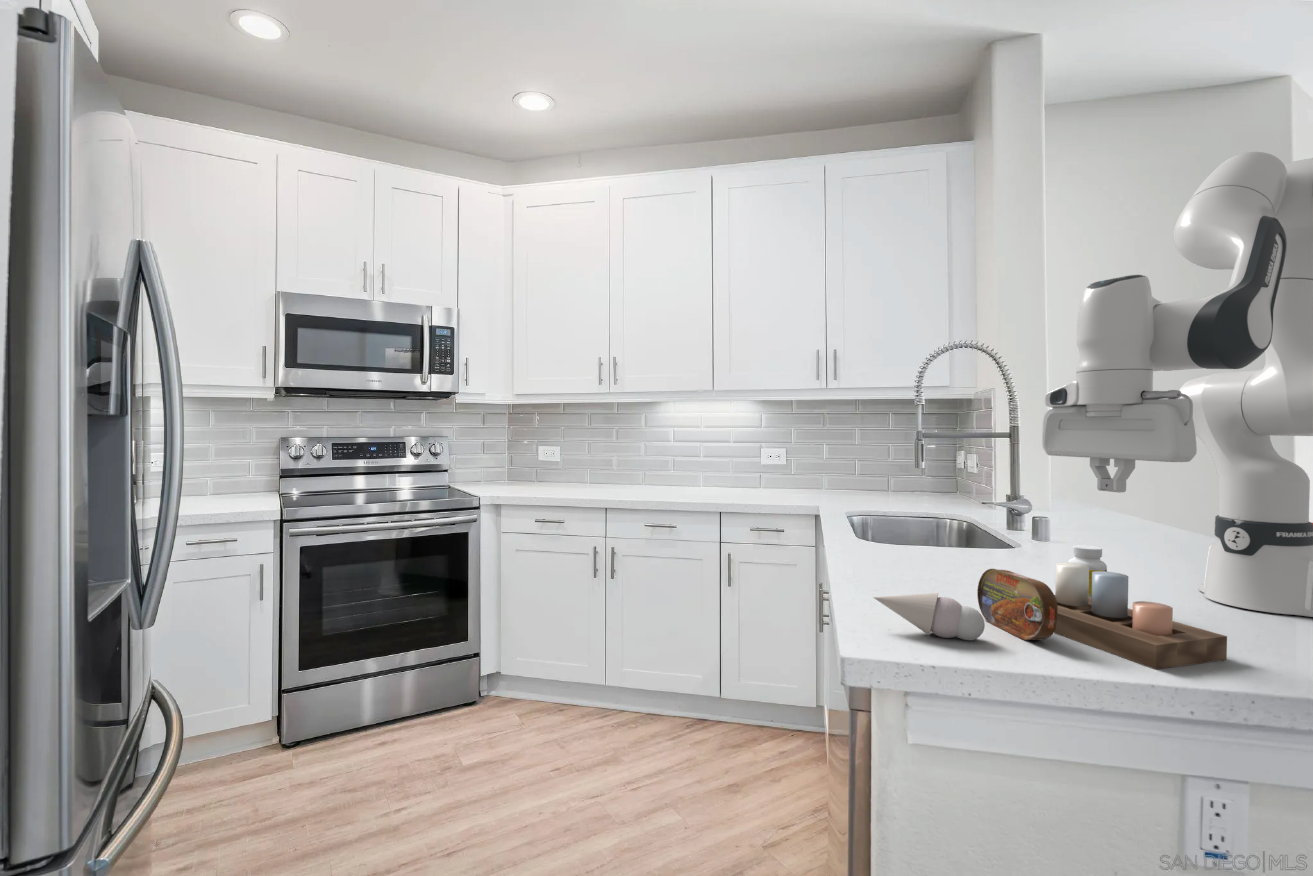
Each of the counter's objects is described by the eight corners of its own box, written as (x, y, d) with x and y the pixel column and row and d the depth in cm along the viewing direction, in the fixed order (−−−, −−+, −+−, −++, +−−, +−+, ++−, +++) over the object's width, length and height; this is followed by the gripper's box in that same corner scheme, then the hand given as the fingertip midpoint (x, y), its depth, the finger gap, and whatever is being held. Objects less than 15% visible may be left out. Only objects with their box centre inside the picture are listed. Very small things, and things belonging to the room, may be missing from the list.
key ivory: (1070, 597, 100) (1070, 562, 100) (1095, 604, 96) (1096, 567, 96) (1048, 599, 99) (1049, 563, 99) (1073, 607, 95) (1073, 569, 95)
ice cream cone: (868, 624, 97) (978, 656, 91) (867, 607, 93) (983, 640, 86) (877, 588, 100) (985, 616, 94) (877, 569, 96) (990, 598, 89)
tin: (975, 616, 102) (975, 562, 102) (994, 615, 102) (995, 562, 102) (1040, 649, 87) (1041, 586, 87) (1062, 648, 87) (1063, 586, 87)
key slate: (1106, 608, 95) (1107, 570, 94) (1135, 616, 91) (1135, 577, 90) (1084, 610, 93) (1084, 572, 93) (1112, 619, 89) (1112, 579, 89)
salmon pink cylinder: (1147, 640, 89) (1148, 600, 89) (1180, 650, 85) (1180, 608, 85) (1124, 643, 88) (1125, 602, 88) (1155, 653, 84) (1156, 611, 84)
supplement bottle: (1112, 611, 104) (1113, 550, 104) (1075, 609, 105) (1076, 549, 105) (1097, 602, 110) (1098, 544, 109) (1061, 600, 111) (1062, 543, 111)
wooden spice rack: (1073, 611, 104) (1073, 593, 104) (1226, 659, 83) (1226, 636, 83) (1012, 617, 101) (1012, 598, 101) (1155, 669, 80) (1156, 645, 80)
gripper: (1210, 389, 82) (1208, 499, 82) (1067, 396, 102) (1066, 484, 102) (1173, 388, 80) (1171, 500, 81) (1035, 395, 100) (1033, 485, 100)
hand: (1111, 491), depth 92 cm, fingers closed
